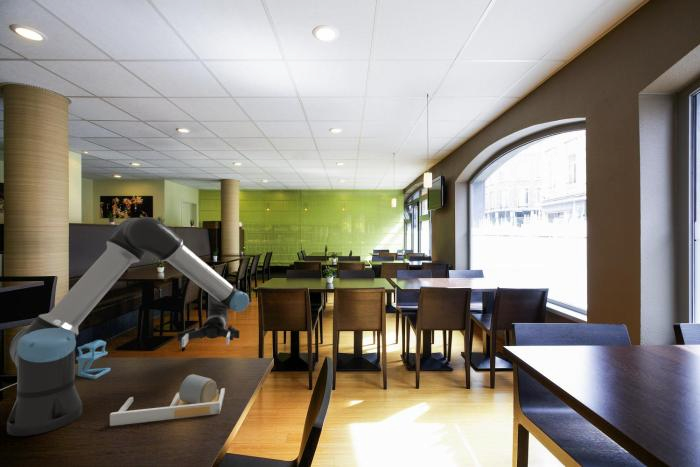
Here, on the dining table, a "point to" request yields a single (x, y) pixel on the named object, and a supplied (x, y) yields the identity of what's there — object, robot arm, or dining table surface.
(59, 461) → the dining table surface
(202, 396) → the ceramic mug
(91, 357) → the chair
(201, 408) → the bay rack
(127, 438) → the dining table surface
